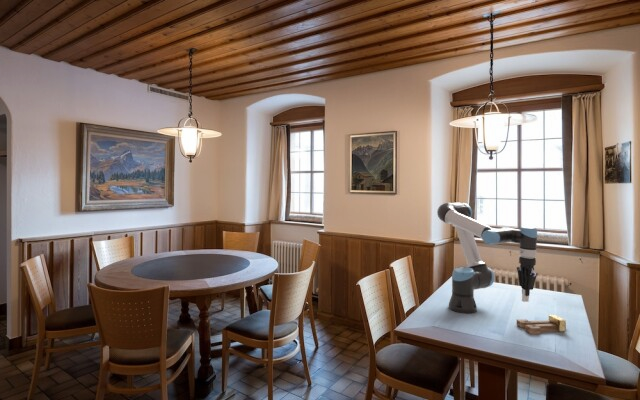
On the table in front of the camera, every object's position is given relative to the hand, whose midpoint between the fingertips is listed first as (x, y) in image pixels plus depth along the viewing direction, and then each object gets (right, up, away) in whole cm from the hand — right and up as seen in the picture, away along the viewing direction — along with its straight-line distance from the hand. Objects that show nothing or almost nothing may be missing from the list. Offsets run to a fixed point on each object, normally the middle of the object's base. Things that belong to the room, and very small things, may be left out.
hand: (525, 301), depth 186 cm
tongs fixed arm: (+3, -12, -11) cm, 17 cm away
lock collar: (+11, -11, -9) cm, 18 cm away
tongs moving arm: (+5, -11, -6) cm, 14 cm away
